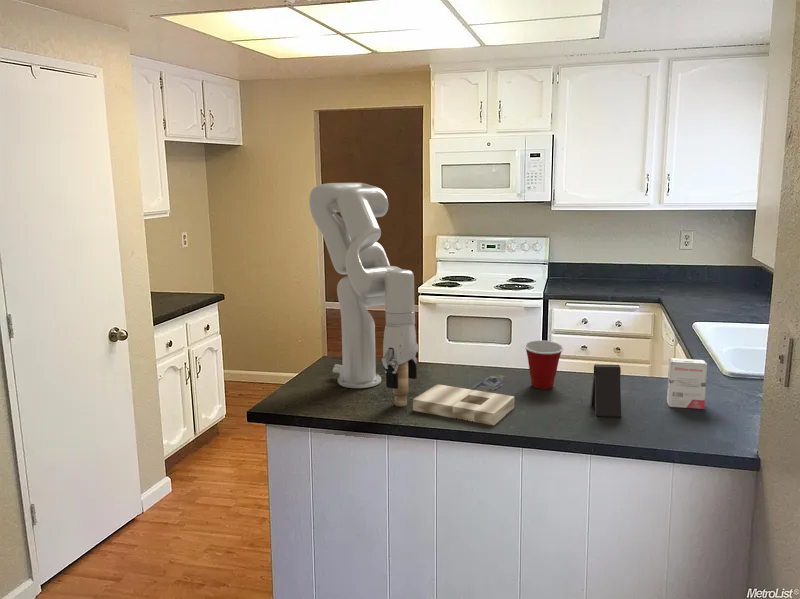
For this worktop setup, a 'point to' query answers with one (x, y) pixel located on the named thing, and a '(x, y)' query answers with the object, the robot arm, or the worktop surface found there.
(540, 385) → the plastic cup
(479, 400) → the board
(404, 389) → the peg
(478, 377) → the worktop surface
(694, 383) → the ink box
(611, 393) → the phone stand
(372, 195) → the robot arm
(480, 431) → the worktop surface
